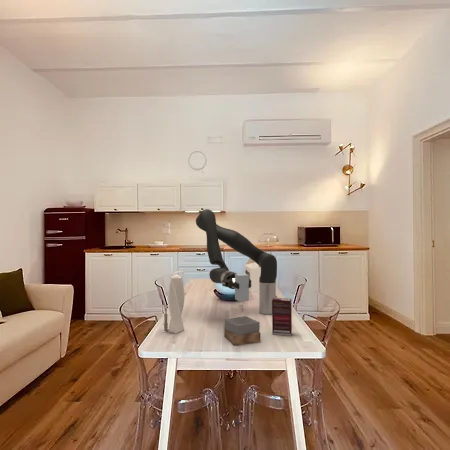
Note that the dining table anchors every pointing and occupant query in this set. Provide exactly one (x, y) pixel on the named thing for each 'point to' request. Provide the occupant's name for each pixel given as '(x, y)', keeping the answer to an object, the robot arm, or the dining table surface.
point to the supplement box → (281, 316)
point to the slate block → (242, 287)
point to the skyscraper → (175, 304)
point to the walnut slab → (242, 338)
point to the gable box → (253, 274)
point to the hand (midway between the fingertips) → (244, 286)
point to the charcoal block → (242, 325)
